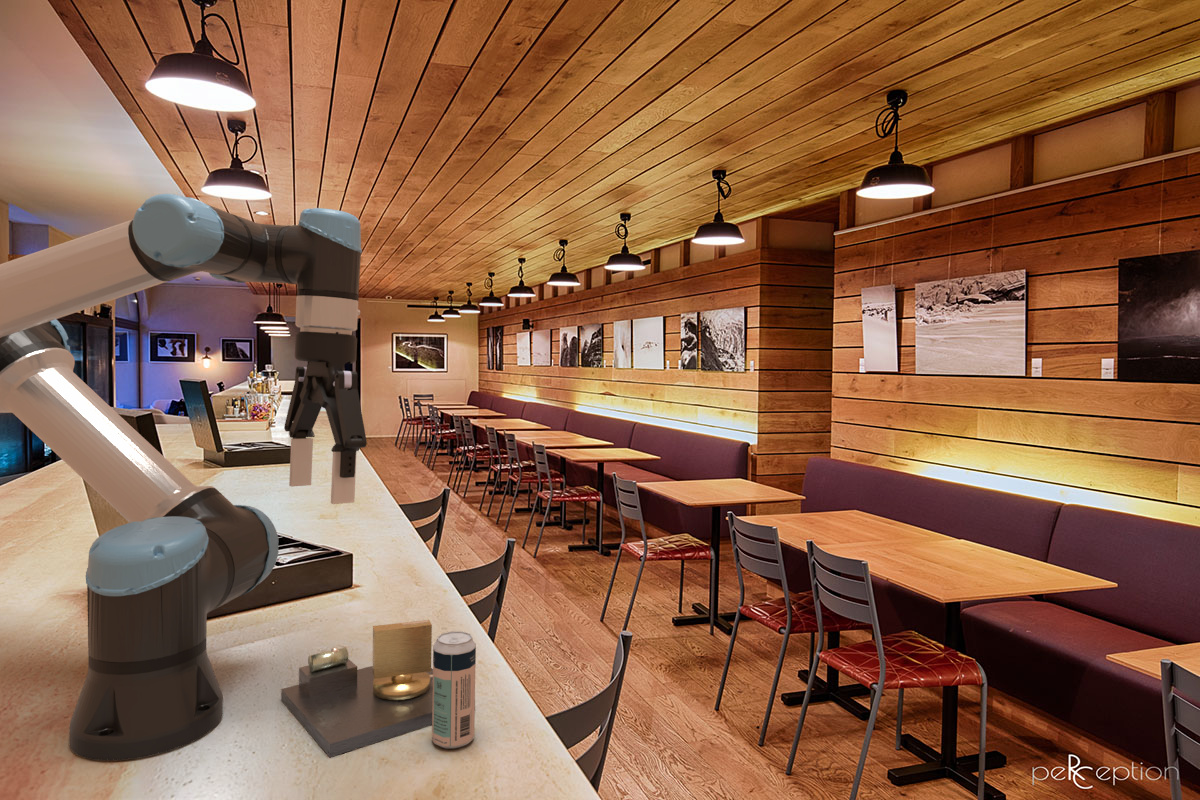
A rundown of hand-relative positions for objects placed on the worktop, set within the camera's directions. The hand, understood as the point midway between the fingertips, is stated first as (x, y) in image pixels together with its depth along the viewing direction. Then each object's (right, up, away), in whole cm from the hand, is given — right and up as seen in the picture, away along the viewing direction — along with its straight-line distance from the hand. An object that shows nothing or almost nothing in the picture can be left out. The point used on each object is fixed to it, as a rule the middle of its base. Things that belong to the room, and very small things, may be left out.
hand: (320, 494), depth 96 cm
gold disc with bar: (+11, -24, -3) cm, 27 cm away
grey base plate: (+9, -26, -4) cm, 28 cm away
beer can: (+20, -27, -13) cm, 36 cm away
